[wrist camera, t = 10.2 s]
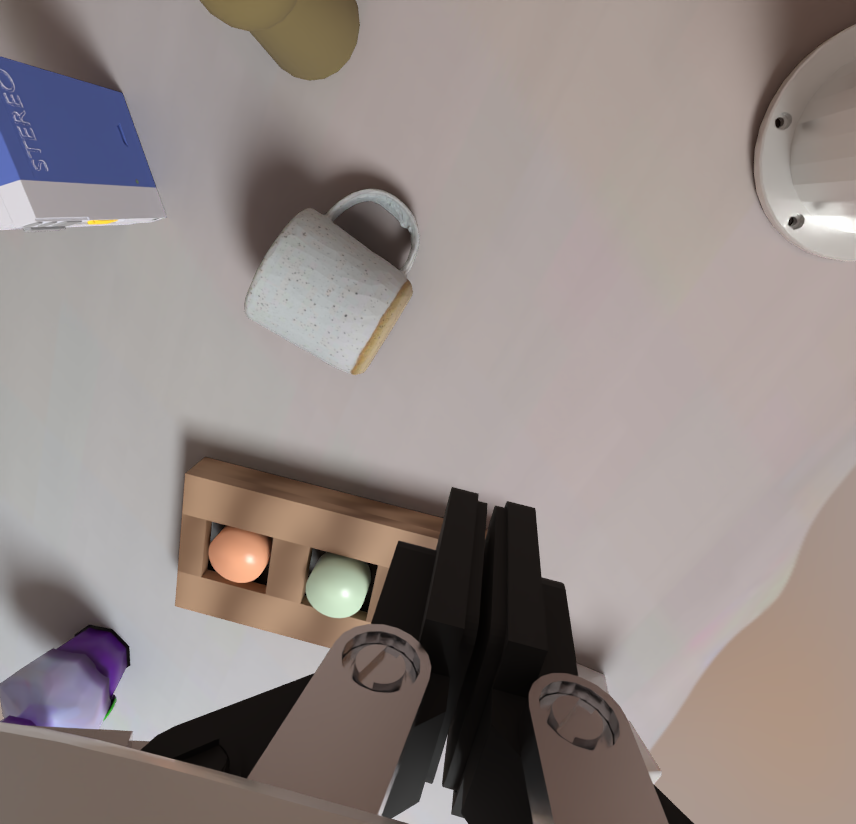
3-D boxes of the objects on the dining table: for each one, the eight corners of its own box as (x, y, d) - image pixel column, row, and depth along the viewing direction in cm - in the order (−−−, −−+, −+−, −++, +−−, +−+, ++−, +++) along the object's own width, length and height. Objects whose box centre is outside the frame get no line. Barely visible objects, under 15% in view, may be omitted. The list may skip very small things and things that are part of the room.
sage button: (375, 557, 44) (368, 576, 42) (365, 604, 46) (358, 624, 44) (320, 542, 45) (310, 560, 42) (311, 589, 46) (301, 609, 44)
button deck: (522, 538, 44) (522, 561, 41) (483, 661, 48) (481, 689, 45) (205, 456, 45) (185, 473, 42) (194, 583, 49) (175, 606, 47)
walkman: (86, 105, 38) (-93, 61, 27) (123, 92, 37) (-43, 42, 26) (132, 229, 40) (-14, 237, 29) (167, 219, 40) (33, 223, 28)
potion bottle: (129, 702, 55) (32, 829, 44) (46, 658, 55) (-73, 775, 43) (160, 642, 52) (65, 761, 41) (73, 594, 52) (-48, 702, 40)
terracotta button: (279, 524, 46) (267, 540, 43) (272, 570, 47) (260, 589, 45) (225, 510, 46) (210, 526, 44) (220, 557, 47) (206, 574, 45)
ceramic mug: (373, 367, 41) (346, 399, 34) (272, 305, 41) (223, 324, 33) (453, 232, 38) (442, 236, 30) (343, 162, 37) (306, 149, 30)
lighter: (549, 670, 48) (557, 757, 40) (559, 655, 47) (568, 740, 40) (629, 704, 48) (652, 797, 40) (639, 689, 47) (664, 780, 40)
